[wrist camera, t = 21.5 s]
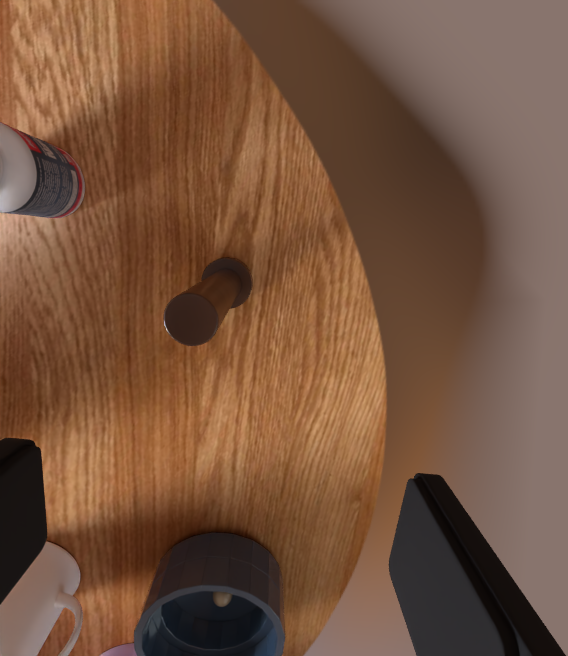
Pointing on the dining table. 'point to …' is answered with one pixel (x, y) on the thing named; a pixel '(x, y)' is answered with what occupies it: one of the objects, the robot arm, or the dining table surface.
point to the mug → (40, 603)
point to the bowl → (199, 608)
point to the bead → (221, 598)
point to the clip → (121, 651)
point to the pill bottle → (37, 177)
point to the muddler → (208, 302)
